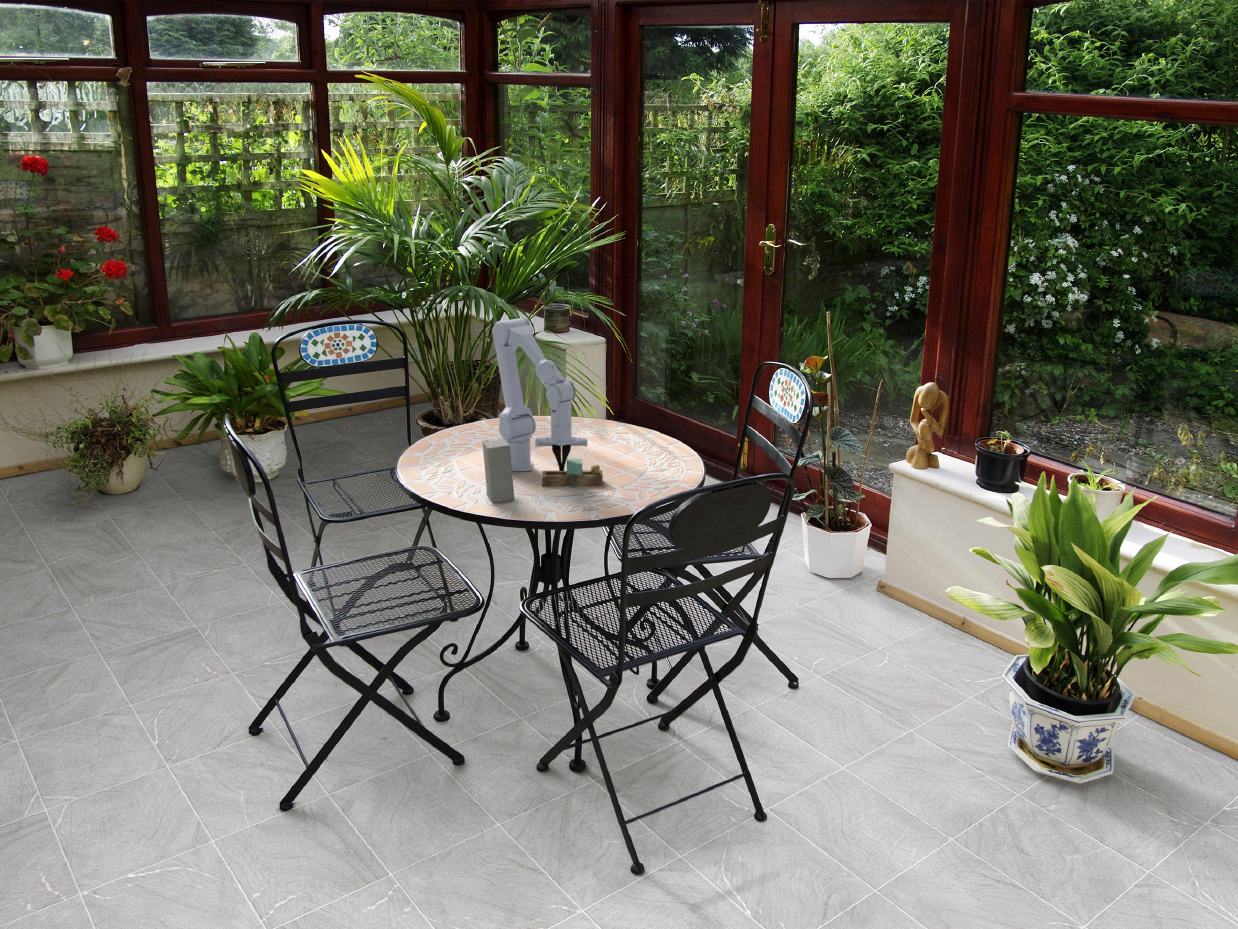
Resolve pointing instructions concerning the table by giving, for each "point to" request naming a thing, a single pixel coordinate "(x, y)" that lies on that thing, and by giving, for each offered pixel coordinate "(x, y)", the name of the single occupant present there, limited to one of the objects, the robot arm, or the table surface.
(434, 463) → the table surface
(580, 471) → the block
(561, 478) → the wooden slide track
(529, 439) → the robot arm
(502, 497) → the skincare box
